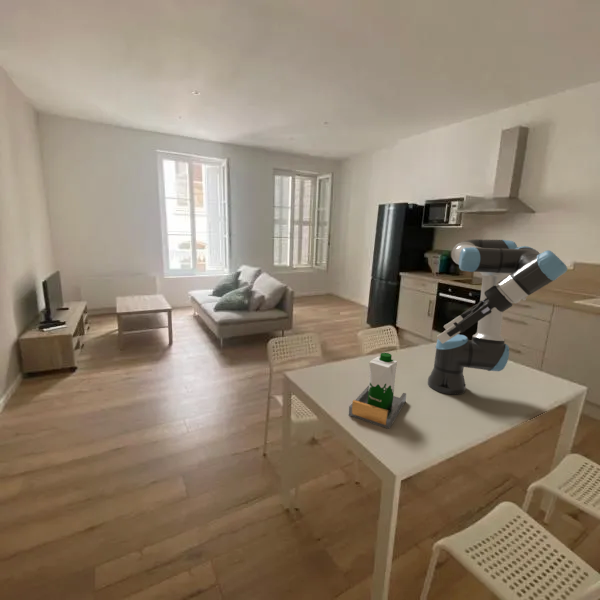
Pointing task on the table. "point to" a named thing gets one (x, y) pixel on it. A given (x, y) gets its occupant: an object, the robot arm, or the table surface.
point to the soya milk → (382, 381)
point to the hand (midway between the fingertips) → (442, 334)
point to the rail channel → (376, 410)
